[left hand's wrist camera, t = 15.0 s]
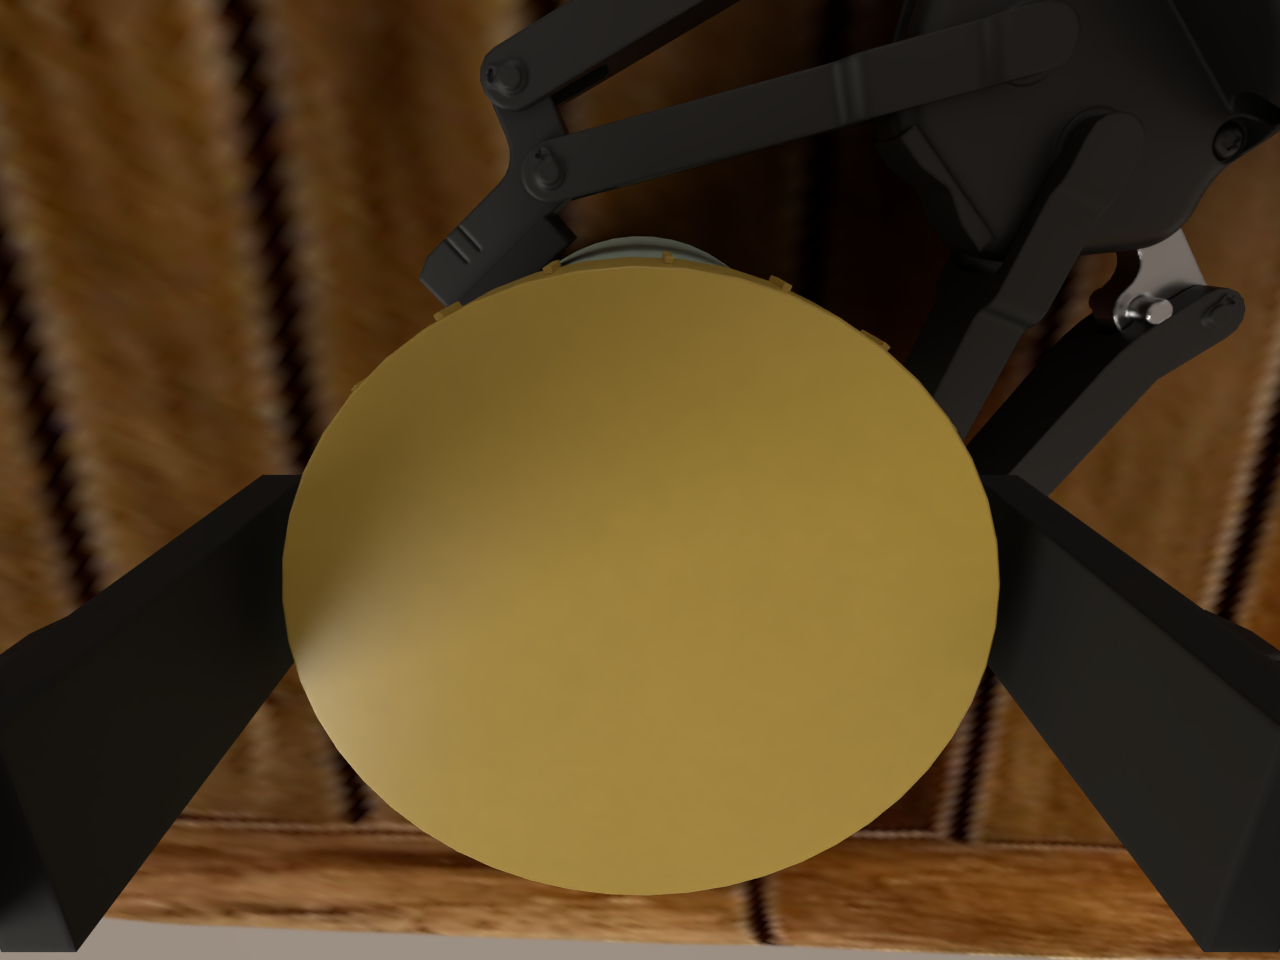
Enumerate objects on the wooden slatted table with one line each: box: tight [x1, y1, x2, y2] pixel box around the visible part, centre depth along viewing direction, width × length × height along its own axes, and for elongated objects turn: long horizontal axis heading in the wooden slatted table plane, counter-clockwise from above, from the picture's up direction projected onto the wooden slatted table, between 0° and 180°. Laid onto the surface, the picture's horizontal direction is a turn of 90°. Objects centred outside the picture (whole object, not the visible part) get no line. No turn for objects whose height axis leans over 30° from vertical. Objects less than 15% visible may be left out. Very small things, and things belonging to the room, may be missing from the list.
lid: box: [282, 251, 1000, 895], centre depth 11 cm, size 10×10×2 cm
